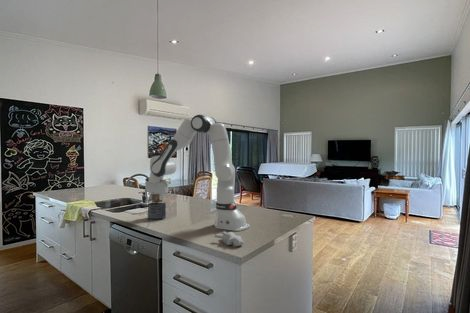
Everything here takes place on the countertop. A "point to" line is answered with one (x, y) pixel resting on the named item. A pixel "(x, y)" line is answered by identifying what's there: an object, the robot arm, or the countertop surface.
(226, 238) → the bunny figurine
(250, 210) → the countertop surface
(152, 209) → the small box
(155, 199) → the walnut cube
